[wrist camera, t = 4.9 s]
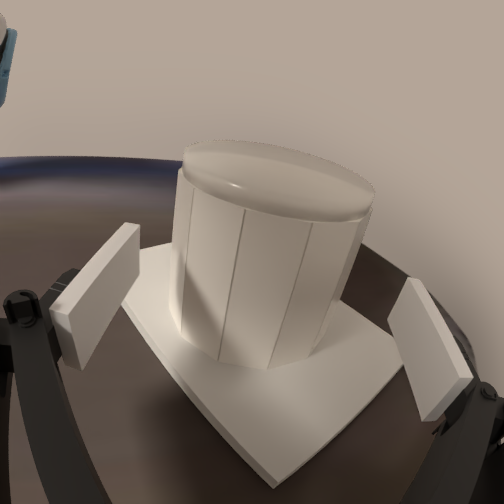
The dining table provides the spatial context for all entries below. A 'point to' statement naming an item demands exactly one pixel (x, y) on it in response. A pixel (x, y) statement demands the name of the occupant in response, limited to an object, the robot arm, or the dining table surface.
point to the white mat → (268, 378)
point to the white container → (262, 249)
